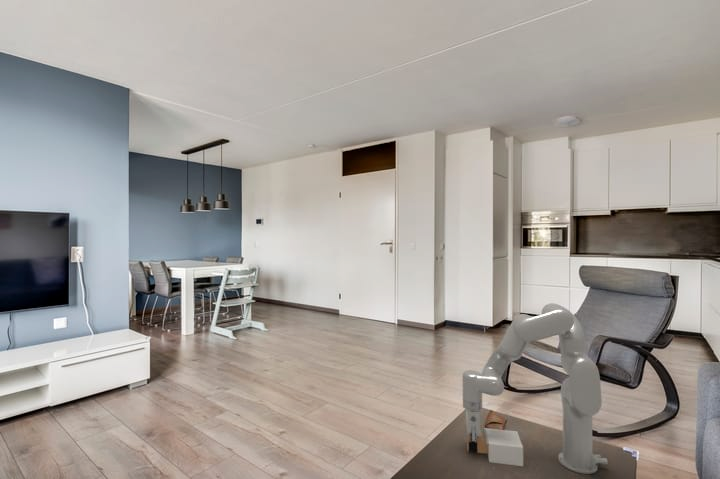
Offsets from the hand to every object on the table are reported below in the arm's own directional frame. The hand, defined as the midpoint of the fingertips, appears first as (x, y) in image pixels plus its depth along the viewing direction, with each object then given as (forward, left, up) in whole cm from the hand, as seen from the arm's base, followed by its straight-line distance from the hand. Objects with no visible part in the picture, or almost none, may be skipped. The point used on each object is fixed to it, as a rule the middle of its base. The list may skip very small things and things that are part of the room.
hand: (472, 449), depth 147 cm
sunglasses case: (-12, -24, -1) cm, 26 cm away
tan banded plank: (-4, 0, 0) cm, 5 cm away
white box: (-11, 0, -1) cm, 12 cm away
